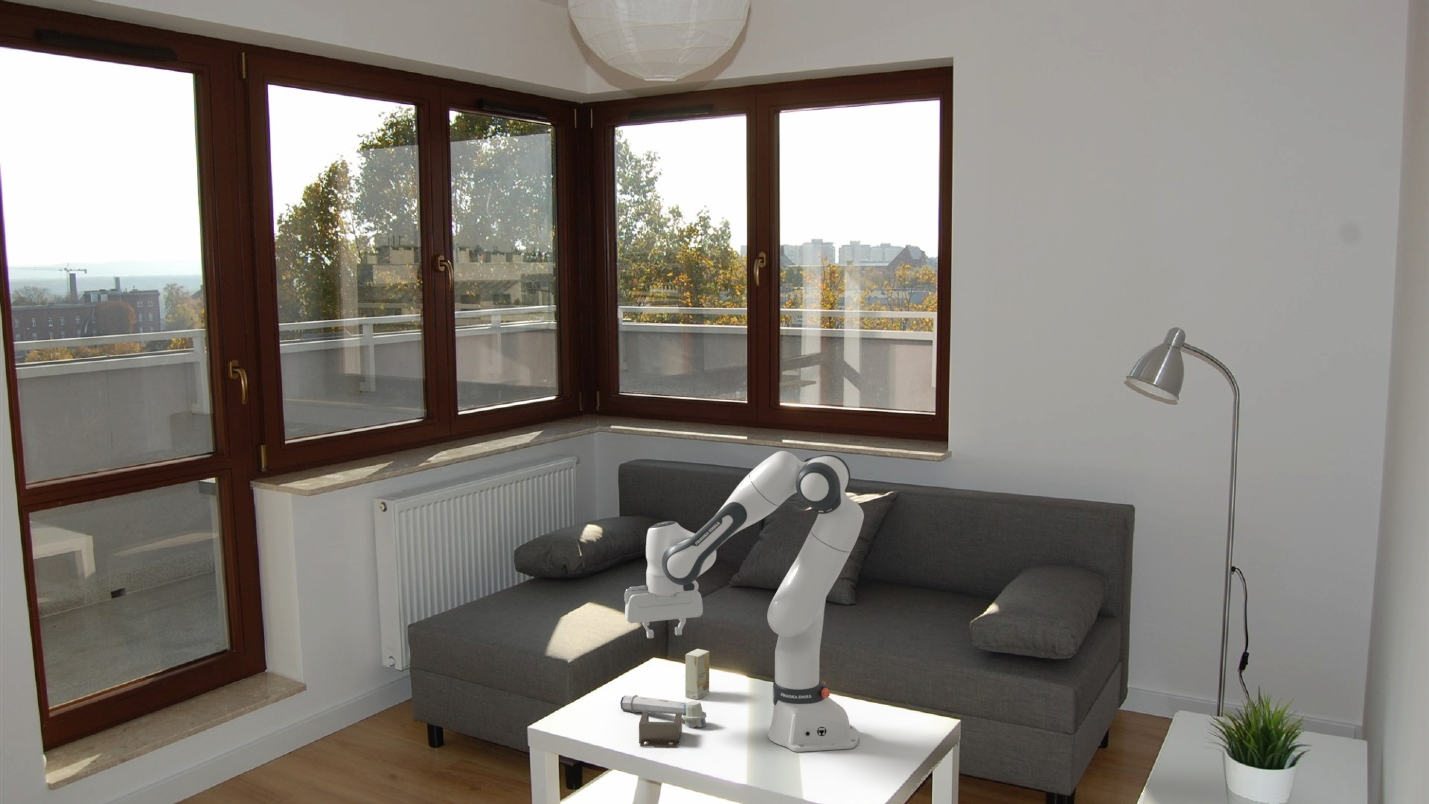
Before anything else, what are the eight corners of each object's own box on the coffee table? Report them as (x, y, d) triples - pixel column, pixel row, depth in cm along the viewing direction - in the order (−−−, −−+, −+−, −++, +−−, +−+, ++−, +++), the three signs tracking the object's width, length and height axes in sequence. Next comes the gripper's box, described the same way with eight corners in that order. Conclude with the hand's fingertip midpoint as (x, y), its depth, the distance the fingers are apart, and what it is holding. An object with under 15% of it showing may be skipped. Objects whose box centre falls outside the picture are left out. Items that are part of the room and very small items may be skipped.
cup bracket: (682, 732, 272) (681, 713, 272) (678, 747, 263) (678, 727, 263) (642, 731, 273) (642, 712, 273) (638, 746, 264) (637, 727, 263)
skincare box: (697, 700, 294) (697, 657, 293) (684, 697, 296) (684, 654, 295) (710, 693, 300) (710, 650, 298) (697, 690, 302) (697, 647, 301)
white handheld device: (629, 692, 290) (708, 696, 278) (632, 716, 290) (711, 722, 278) (617, 698, 286) (697, 703, 273) (620, 723, 286) (700, 728, 273)
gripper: (626, 590, 271) (627, 643, 272) (704, 583, 277) (705, 635, 278) (621, 584, 277) (622, 636, 278) (697, 577, 283) (698, 628, 284)
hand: (664, 636), depth 278 cm, fingers open, 6 cm apart
